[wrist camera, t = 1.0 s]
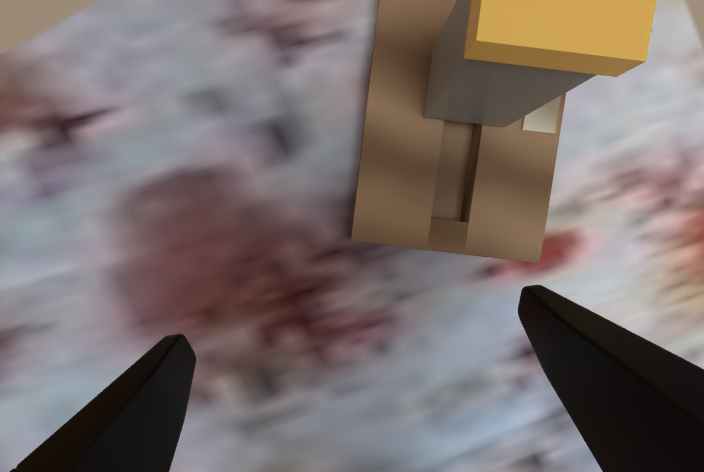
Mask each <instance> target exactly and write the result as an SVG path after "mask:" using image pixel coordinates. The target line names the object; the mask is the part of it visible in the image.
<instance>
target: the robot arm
mask: <svg viewBox="0 0 704 472" xmlns="http://www.w3.org/2000/svg"><path fill="white" fill-rule="evenodd" d="M518 315H519V318H520V321H521V323H522V325H523V327H524V329H525V332H526V334H527V336H528V338H529V340H530V343H531V345H532V347H533V349H534V351H535V354H536V356H537V358H538V360H539V362H540V364H541V366H542V368H543V370H544V372H545V374H546V376H547V378H548V380H549V381H550V383H551V385H552V386H553V388H554V390H555V391H556V393H557V395H558V397H559V398H560V400H561V402H562V403H563V405H564V407H565V408H566V410H567V412H568V413H569V415H570V417H571V419H572V420H573V422H574V424H575V425H576V427H577V429H578V430H579V432H580V434H581V436H582V437H583V439H584V441H585V442H586V444H587V446H588V447H589V449H590V451H591V452H592V454H593V456H594V458H595V459H596V461H597V463H598V464H599V466H600V468H601V469H602V471H603V472H704V369H702V368H700V367H698V366H696V365H694V364H692V363H690V362H689V361H687V360H685V359H683V358H681V357H679V356H677V355H675V354H673V353H671V352H669V351H667V350H665V349H663V348H661V347H660V346H658V345H656V344H654V343H652V342H650V341H648V340H646V339H644V338H642V337H640V336H638V335H636V334H634V333H632V332H631V331H629V330H627V329H625V328H623V327H621V326H619V325H617V324H615V323H613V322H611V321H609V320H607V319H605V318H603V317H602V316H600V315H598V314H596V313H594V312H592V311H590V310H588V309H586V308H584V307H582V306H580V305H578V304H576V303H575V302H573V301H571V300H569V299H567V298H565V297H563V296H561V295H559V294H557V293H555V292H553V291H551V290H549V289H547V288H546V287H544V286H541V285H532V286H525V287H524V288H523V289H522V291H521V296H520V301H519V306H518ZM195 364H196V356H195V353H194V351H193V349H192V348H191V346H190V344H189V342H188V340H187V339H186V337H185V336H184V335H183V334H175V335H168V336H166V337H164V338H163V339H162V340H161V341H159V342H158V343H157V344H156V345H155V346H154V347H152V348H151V349H150V350H149V351H148V352H147V353H146V354H144V355H143V356H142V357H141V358H140V359H139V360H138V361H136V362H135V363H134V364H133V365H132V366H131V367H130V368H128V369H127V370H126V371H125V372H124V373H123V374H121V375H120V376H119V377H118V378H117V379H116V380H115V381H113V382H112V383H111V384H110V385H109V386H108V387H107V388H105V389H104V390H103V391H102V392H101V393H100V394H99V395H97V396H96V397H95V398H94V399H93V400H92V401H90V402H89V403H88V404H87V405H86V406H85V407H84V408H82V409H81V410H80V411H79V412H78V413H77V414H76V415H74V416H73V417H72V418H71V419H70V420H69V421H67V422H66V423H65V424H64V425H63V426H62V427H61V428H59V429H58V430H57V431H56V432H55V433H54V434H53V435H51V436H50V437H49V438H48V439H47V440H46V441H44V442H43V443H42V444H41V445H40V446H39V447H38V448H36V449H35V450H34V451H33V452H32V453H31V454H30V455H28V456H27V457H26V458H25V459H24V460H23V461H21V462H20V463H19V464H18V465H17V467H16V469H12V470H11V471H10V472H169V470H170V467H171V463H172V460H173V457H174V453H175V450H176V447H177V443H178V440H179V437H180V434H181V430H182V427H183V423H184V419H185V415H186V410H187V405H188V400H189V395H190V390H191V384H192V379H193V374H194V369H195Z"/></svg>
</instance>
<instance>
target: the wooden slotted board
mask: <svg viewBox="0 0 704 472" xmlns="http://www.w3.org/2000/svg"><path fill="white" fill-rule="evenodd" d="M456 1H457V0H379V6H378V14H377V23H376V31H375V40H374V48H373V57H372V65H371V74H370V82H369V91H368V99H367V108H366V116H365V125H364V133H363V141H362V150H361V158H360V167H359V175H358V184H357V192H356V201H355V209H354V218H353V226H352V235H351V241H355V242H364V243H372V244H381V245H389V246H398V247H406V248H415V249H423V250H432V251H440V252H449V253H457V254H466V255H474V256H483V257H491V258H500V259H508V260H517V261H525V262H534V263H540V258H541V252H542V245H543V239H544V232H545V226H546V219H547V213H548V206H549V200H550V194H551V187H552V181H553V174H554V168H555V161H556V155H557V148H558V142H559V135H560V129H561V122H562V116H563V109H564V103H565V96H566V93H564V94H562V95H561V96H559V97H557V98H555V99H554V100H552V101H550V102H549V103H547V104H545V105H543V106H542V107H540V108H538V109H536V110H535V111H533V112H531V113H529V114H528V115H526V116H524V117H522V118H521V119H519V120H517V121H515V122H514V123H512V124H510V125H508V126H507V127H501V126H492V125H484V124H476V123H462V122H454V121H446V120H443V119H434V118H426V117H424V113H425V105H426V97H427V90H428V82H429V74H430V66H431V58H432V51H433V48H434V46H435V44H436V42H437V39H438V37H439V35H440V33H441V31H442V29H443V27H444V25H445V23H446V21H447V19H448V17H449V15H450V13H451V11H452V9H453V7H454V5H455V3H456Z"/></svg>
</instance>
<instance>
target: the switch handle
mask: <svg viewBox="0 0 704 472" xmlns="http://www.w3.org/2000/svg"><path fill="white" fill-rule="evenodd" d="M655 4H656V0H457V1H456V3H455V5H454V7H453V9H452V11H451V13H450V15H449V17H448V19H447V21H446V23H445V25H444V27H443V29H442V31H441V33H440V35H439V37H438V39H437V42H436V44H435V46H434V48H433V51H432V58H431V66H430V74H429V82H428V90H427V97H426V105H425V113H424V117H426V118H434V119H443V120H446V121H454V122H462V123H476V124H484V125H492V126H501V127H507V126H508V125H510V124H512V123H514V122H515V121H517V120H519V119H521V118H522V117H524V116H526V115H528V114H529V113H531V112H533V111H535V110H536V109H538V108H540V107H542V106H543V105H545V104H547V103H549V102H550V101H552V100H554V99H555V98H557V97H559V96H561V95H562V94H564V93H566V92H568V91H569V90H571V89H573V88H575V87H576V86H578V85H580V84H582V83H583V82H585V81H587V80H589V79H590V78H592V77H594V76H596V75H604V76H613V77H617V76H619V75H621V74H623V73H625V72H627V71H629V70H630V69H632V68H634V67H636V66H638V65H640V64H642V63H644V62H646V58H647V52H648V46H649V40H650V34H651V28H652V22H653V16H654V10H655Z"/></svg>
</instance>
